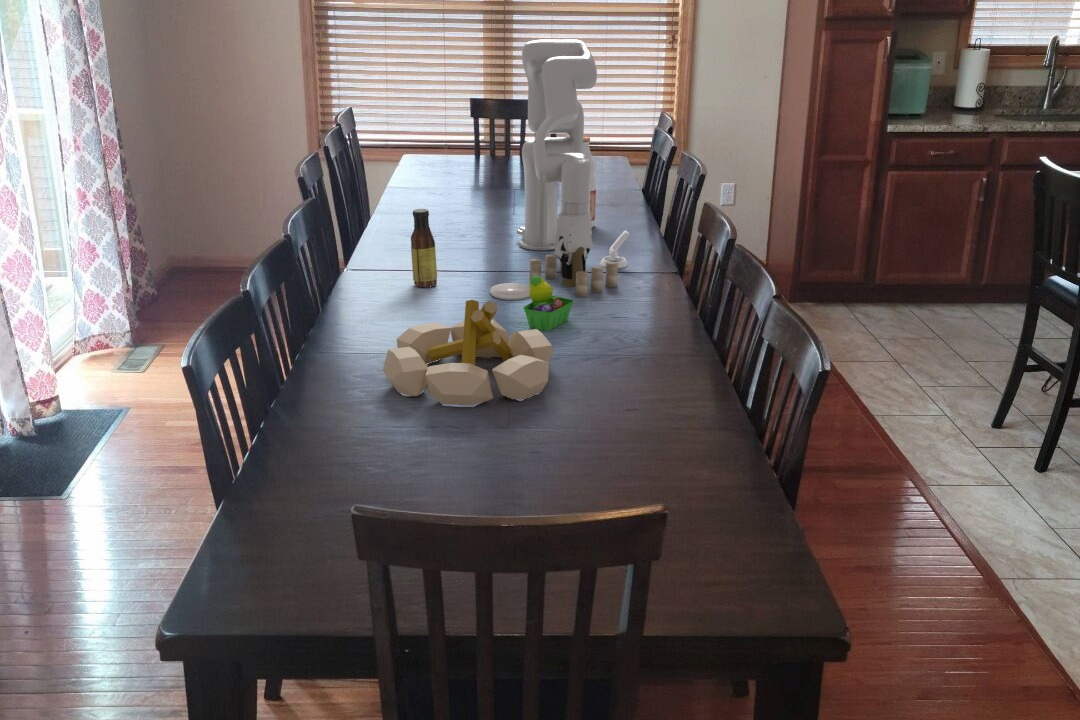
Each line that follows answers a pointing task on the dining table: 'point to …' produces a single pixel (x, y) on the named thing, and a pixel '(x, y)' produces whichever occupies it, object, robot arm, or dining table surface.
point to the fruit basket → (546, 306)
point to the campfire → (469, 359)
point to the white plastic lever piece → (614, 254)
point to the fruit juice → (591, 178)
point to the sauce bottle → (423, 251)
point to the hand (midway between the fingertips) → (573, 275)
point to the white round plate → (510, 291)
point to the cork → (574, 267)
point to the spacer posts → (578, 274)
